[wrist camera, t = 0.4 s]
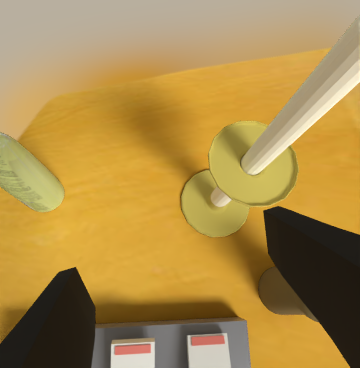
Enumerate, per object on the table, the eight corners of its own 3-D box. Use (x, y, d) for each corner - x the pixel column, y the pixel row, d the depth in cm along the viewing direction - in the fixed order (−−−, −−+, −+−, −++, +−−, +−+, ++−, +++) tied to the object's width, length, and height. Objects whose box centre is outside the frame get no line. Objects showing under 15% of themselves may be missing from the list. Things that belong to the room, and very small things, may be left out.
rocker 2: (232, 398, 29) (235, 401, 28) (190, 402, 29) (191, 404, 28) (224, 333, 32) (227, 333, 31) (186, 335, 31) (187, 335, 30)
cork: (249, 295, 37) (290, 303, 26) (272, 257, 39) (318, 250, 28) (288, 325, 36) (345, 345, 26) (309, 284, 38) (370, 289, 28)
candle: (209, 252, 38) (482, 159, 7) (166, 194, 40) (233, -83, 9) (263, 210, 40) (628, 10, 10) (220, 157, 42) (414, -153, 12)
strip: (244, 390, 33) (256, 404, 30) (12, 409, 30) (-6, 427, 27) (238, 316, 36) (248, 321, 32) (22, 327, 33) (8, 334, 29)
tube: (63, 170, 39) (-13, 77, 21) (75, 203, 38) (6, 135, 19) (21, 185, 38) (-100, 100, 19) (32, 219, 37) (-86, 163, 18)
